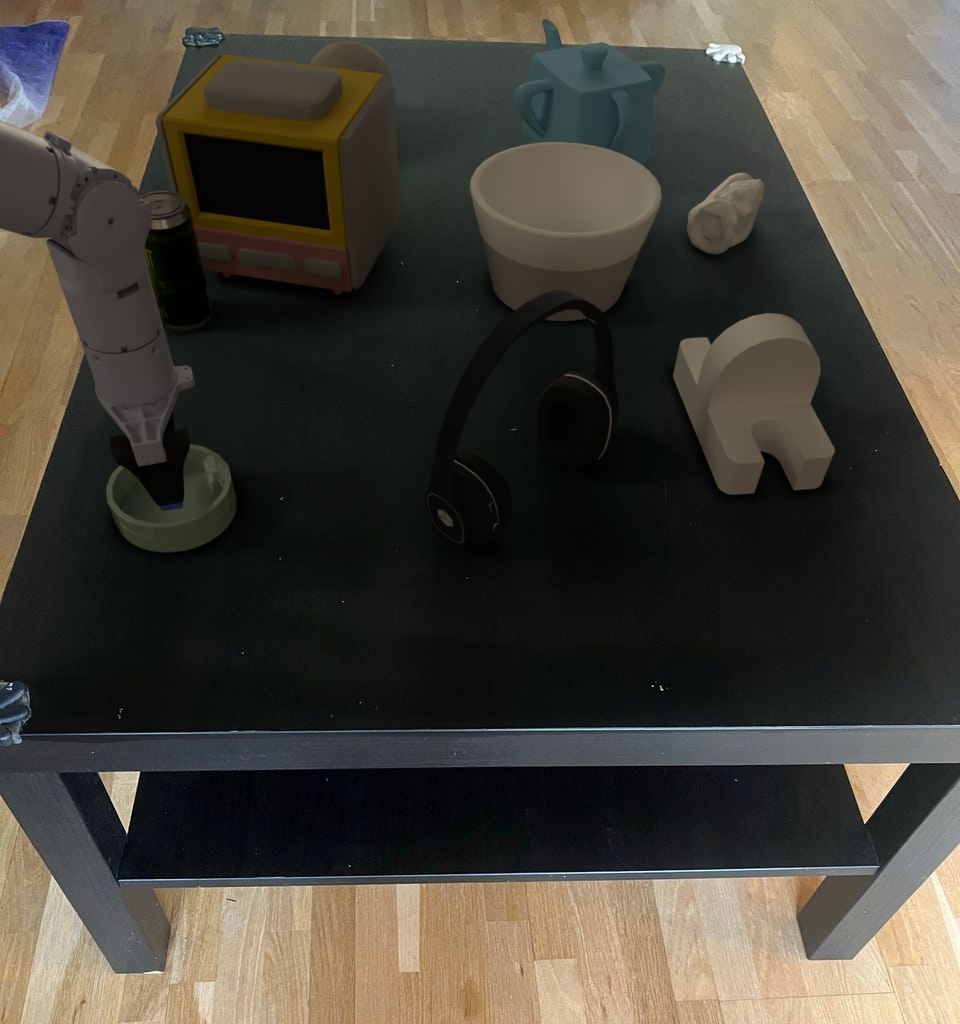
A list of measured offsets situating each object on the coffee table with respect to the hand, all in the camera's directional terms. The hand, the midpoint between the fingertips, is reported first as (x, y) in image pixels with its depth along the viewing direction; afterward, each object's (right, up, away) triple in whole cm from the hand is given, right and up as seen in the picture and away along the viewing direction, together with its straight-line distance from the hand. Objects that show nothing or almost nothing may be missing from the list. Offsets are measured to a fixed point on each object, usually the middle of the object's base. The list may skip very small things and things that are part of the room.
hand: (166, 474), depth 78 cm
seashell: (+8, +50, +45) cm, 68 cm away
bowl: (+34, +25, +26) cm, 49 cm away
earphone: (+29, -1, +6) cm, 30 cm away
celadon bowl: (0, -2, +3) cm, 4 cm away
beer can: (-4, +19, +20) cm, 29 cm away
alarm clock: (+6, +28, +28) cm, 40 cm away
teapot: (+38, +47, +43) cm, 74 cm away
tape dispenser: (+50, +6, +12) cm, 52 cm away
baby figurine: (+54, +34, +33) cm, 71 cm away
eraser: (0, -1, +1) cm, 2 cm away
